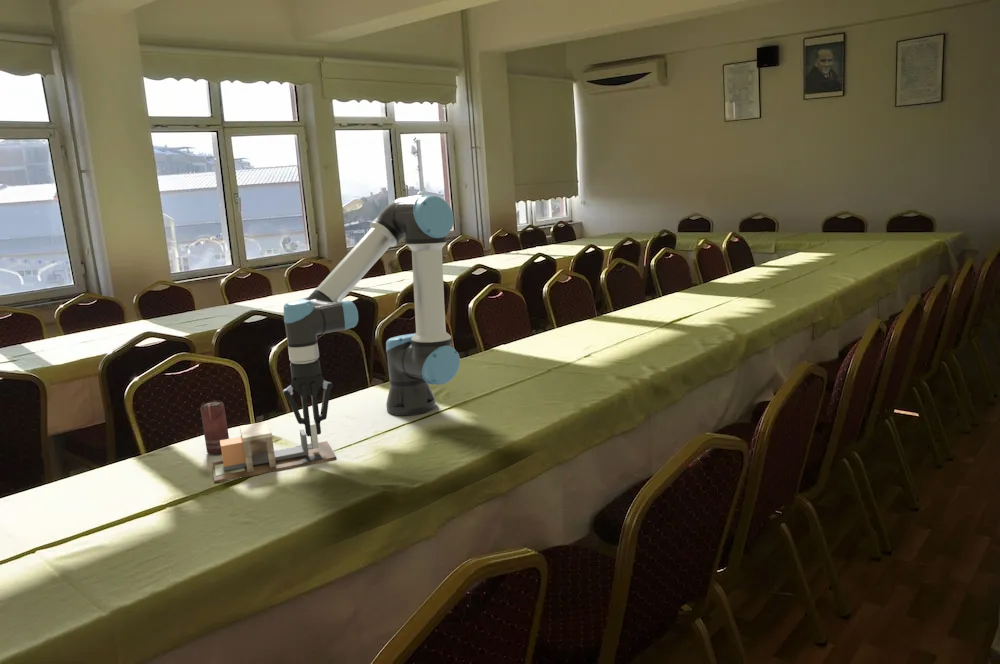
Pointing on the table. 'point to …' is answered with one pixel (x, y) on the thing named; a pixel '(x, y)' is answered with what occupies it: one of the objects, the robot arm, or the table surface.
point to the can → (214, 425)
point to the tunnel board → (260, 441)
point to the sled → (236, 455)
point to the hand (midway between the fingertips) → (315, 446)
